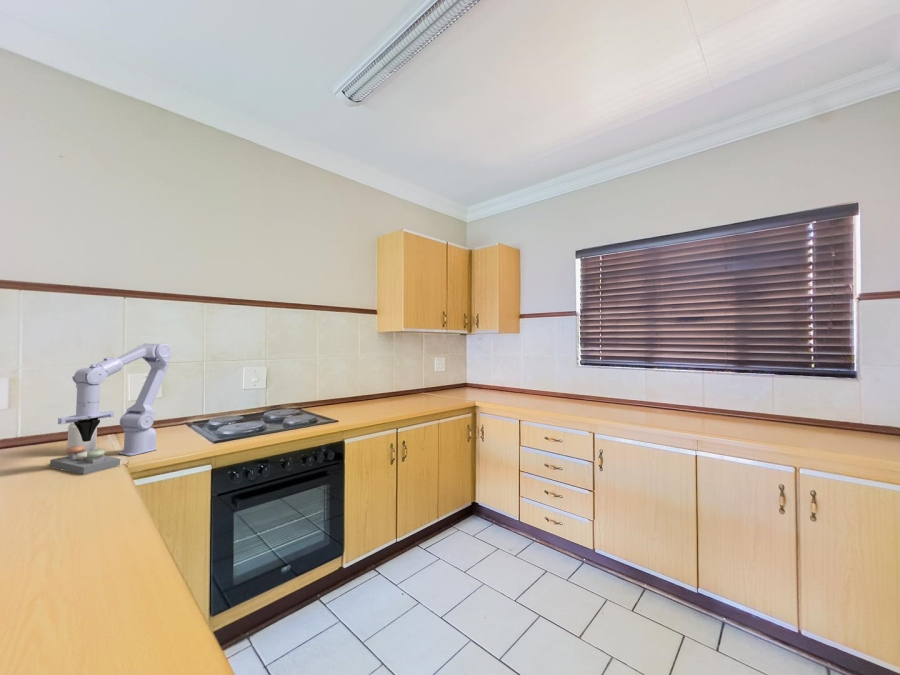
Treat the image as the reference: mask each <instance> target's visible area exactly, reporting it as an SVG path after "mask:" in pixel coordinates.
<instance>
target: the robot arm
mask: <svg viewBox="0 0 900 675" xmlns="http://www.w3.org/2000/svg"><path fill="white" fill-rule="evenodd" d="M172 354H173V350H172V349H171V346H170V345H169V344H166V343H148V342H146V343H143V344H140V345H137V346H136V348H134V349H132V350H130V351H128V352H125V353H124V354H121V355H119V357H106V356H105V357H104V358H103V360H102V361H100V362H97V363H92V364H90V366H89V367H82V368H80V369H77V370H76V371H75V373H74V375H73V376H72V381H73V382H74V383H75V388H76V409H75V415H74V414H73V415H70V416H65V417H63V416H62V417H58V419H57V424H59V425H65V424H70V423H72V422H74V424H75V426H76V427H77V428H78V430H79V432H80V434H81V437H82V441H84V442H87V441H91V437H92V435H93V432H94V430H95V429H96V427H97V428H98V425H100V423H101V419H105V418H114V417H115V411H111V410H110V411H101V412H100V394H101V393H100V392H101V391H100V390H101V388H100V387H101V384H102V383H103V382H104V381H105V379H106V378H108V377H110V376H112V375H114V374H116V373H119V372H120V371H122V369H123V366H125V365H127V364H130V363H132V362H134V361H137V360H139V359H141V358H142V360H144V361H145V362H146V363H147V364H148V365H149V366H150V370H149V372H148V373H147V374H148V375H146V376H147V377H146V379H145V381H144V383H143V386H142V388H141V390H140V392H139V394H138V396H137V399H136V401H135V403H134V404H133V405H131V406H130V407H128V408H127V409H126V412H125V413H124V414H122V415H121V417H120V419H119V425H120V427H121V428H123V430H122V431H124V438H123V440H124V443H123V451H119V452H118V453H120V455H123V456H124V455H125V456H129V457H130V456H131V457H132V456H137V455H141V454H145V453H149V452H153V451H157V450H158V448H157V432H156V430H155V428H154V427H152V426H153V424H154V421H155V420H154V419H155V418H154V417H155V414H156V411H155V410H154V409H153V408H152V407H153V404H154V403H155V400H156V398H157V395H158V393H159V391H160V388H161V386H162V384H163V382H164V380H165V377H166V375H167V372H168V370H169V367H170V360H171V357H172ZM118 453H117V454H118Z"/></svg>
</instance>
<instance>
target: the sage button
mask: <svg viewBox="0 0 900 675" xmlns="http://www.w3.org/2000/svg"><path fill="white" fill-rule="evenodd" d="M105 454H106V450H105V449H96V450H93V451H89V452H87V457H88V463H91V464H93V463H97V462H102V461H104V456H106V455H105Z"/></svg>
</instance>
